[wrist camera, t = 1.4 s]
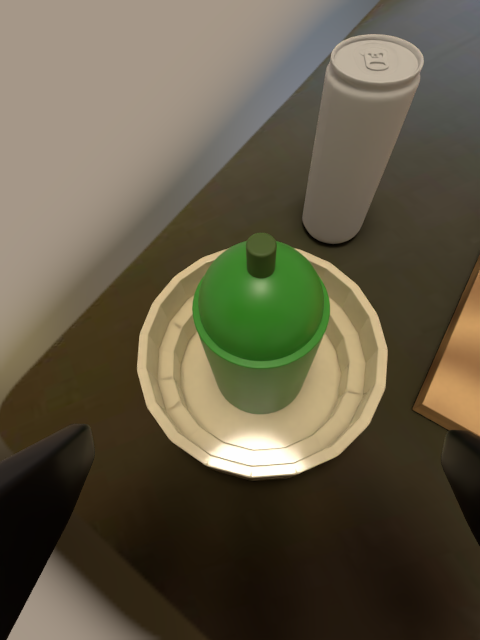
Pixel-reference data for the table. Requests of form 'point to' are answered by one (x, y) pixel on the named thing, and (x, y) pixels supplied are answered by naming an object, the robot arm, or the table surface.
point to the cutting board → (456, 368)
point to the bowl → (274, 428)
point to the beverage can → (357, 130)
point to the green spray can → (260, 322)
